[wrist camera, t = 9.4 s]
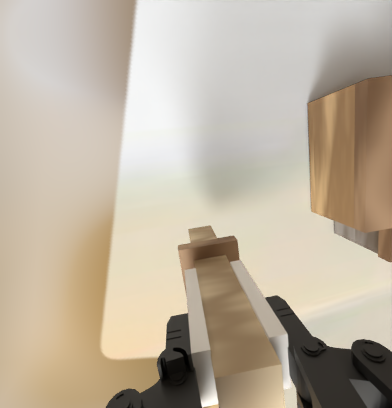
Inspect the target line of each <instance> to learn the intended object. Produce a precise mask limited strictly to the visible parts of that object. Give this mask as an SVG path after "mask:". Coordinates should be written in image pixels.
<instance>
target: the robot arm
mask: <svg viewBox="0 0 392 408" xmlns="http://www.w3.org/2000/svg"><path fill="white" fill-rule="evenodd" d="M230 265H231V267H232V269H233V271H234V273H235V275H236V277H237V279H238V281H239V283H240V285H241V287H242V289H243V291H244V293H245V295H246V297H247V299H248V301H249V302H250V304H251V306H252V308H253V310H254V312H255V314H256V316H257V318H258V320H259V322H260V324H261V326H262V328H263V330H264V332H265V334H266V336H267V338H268V340H269V342H271V344H272V346H273V348H274V350H275V352H276V354H277V356H278V358H279V360H280V362H281V364H282V375H283V388H284V389H289V388H291V379H292V381H293V383H294V385H295V387H296V392H297V407H298V408H392V352H391V351H390V350H388V349H387V348H386V347H384V346H382V345H381V344H379V343H376V342H374V341H371V340H365V339H362V340H356V341H355V342H353V344H352V347H351V349H341V348H333V347H329V346H327V345H326V344H325V343H324V342H323V341H321V340H320V339H318V338H316V337H313V336H312V335H311V334H310V333H309V331H308V330H307V329H306V327H305V326H304V325H303V324H302V322H301V321H300V320H299V318H298V317H297V316H296V314H295V313H294V312H293V310H292V309H290V307H289V305H288V304H287V303H286V301H285V300H283V299H282V298H280V297H279V296H272V297H266V298H265V297H264V296H263V294H262V293H261V291H260V290H259V288H258V286H257V285H256V283H255V282H254V280H253V279H252V277H251V275H250V274H249V272H248V271H247V269H246V268H245V266H244V264H243V263H242V261H241V260H237V261H232V262H230ZM185 282H186V294H187V307H188V313H187V314H181V315H176V316H171V318H170V320H169V321H168V323H167V334H166V349H165V350H164V351H163V352H162V353H161V354H160V356H159V358H158V361H157V367H158V371H159V376H160V379H159V381H158V382H157V383H156V384H155V385H153V386H152V387H150V388H149V389H147V390H145V391H144V392H142V393H139V392H138V391H136V390H135V389H126V390H122V391H121V392H119V393H117V394H116V395H115V396H114V397H113V398H112V399H111V400H110V401H109V403H108V405H107V406H106V408H202V407H206V406H211V405H215V404H218V398H217V391H216V385H215V379H214V373H213V367H212V361H211V350H210V345H209V339H208V334H207V328H206V323H205V317H204V312H203V306H202V300H201V295H200V289H199V284H198V278H197V273H196V268H193V269H188V270H185Z"/></svg>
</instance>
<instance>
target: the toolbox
mask: <svg viewBox="0 0 392 408" xmlns="http://www.w3.org/2000/svg"><path fill="white" fill-rule="evenodd" d="M308 125H309V153H310V181H311V209H312V212H314V213H317V214H319V215H321V216H324V217H326V218H329V219H331V220H334V231H335V233H336V234H338V235H340V236H342V237H344V238H346V239H348V240H350V241H352V242H354V243H357V244H359V245H361V246H363V247H365V248H367V249H369V250H371V251H373V252H375V253H377V254H378V240H379V231H373V232H367V233H364V232H361V231H359V230H356V229H354V144H355V84H354V85H351V86H349V87H346V88H344V89H341V90H339V91H336V92H334V93H332V94H329V95H327V96H324V97H322V98H319V99H317V100H315V101H312V102H310V103H308Z"/></svg>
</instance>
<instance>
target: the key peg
mask: <svg viewBox="0 0 392 408" xmlns="http://www.w3.org/2000/svg"><path fill="white" fill-rule="evenodd" d="M188 230H189V236H190V242H191V243H188V244H183V245H178V251H179V257H180V263H181V268H182V274H183V279H184V285H185V291H186V282H185V270H188V269H193V268H196V273H197V278H198V284H199V289H200V295H201V300H202V306H203V312H204V317H205V323H206V328H207V334H208V339H209V345H210V350H211V361H212V367H213V373H214V379H215V385H216V391H217V398H218V404H219V408H285V400H284V388H283V375H282V364H281V362H280V360H279V358H278V356H277V354H276V352H275V350H274V348H273V346H272V344H271V342H269V340H268V338H267V336H266V334H265V332H264V330H263V328H262V326H261V324H260V322H259V320H258V318H257V316H256V314H255V312H254V310H253V308H252V306H251V304H250V302H249V301H248V299H247V297H246V295H245V293H244V291H243V289H242V287H241V285H240V283H239V281H238V279H237V277H236V275H235V273H234V271H233V269H232V267H231V265H230V262H232V261H237V260H239V251H238V243H237V239H236V238H235V237H234V236H229V237H223V238H217V237H216V235H215V233H214V231H213V229H212V227H211V226H205V227H199V228H193V229H188ZM186 296H187V294H186Z"/></svg>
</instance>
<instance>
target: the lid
mask: <svg viewBox="0 0 392 408" xmlns="http://www.w3.org/2000/svg"><path fill="white" fill-rule="evenodd" d="M354 229H356V230H359V231H361V232H364V233H367V232H373V231H379V240H378V257H380V258H382V259H384V260H386V261H388V262H392V75H390V76H383V77H376V78H369V79H366V80H363V81H361V82H358V83H356V84H355V144H354Z"/></svg>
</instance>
